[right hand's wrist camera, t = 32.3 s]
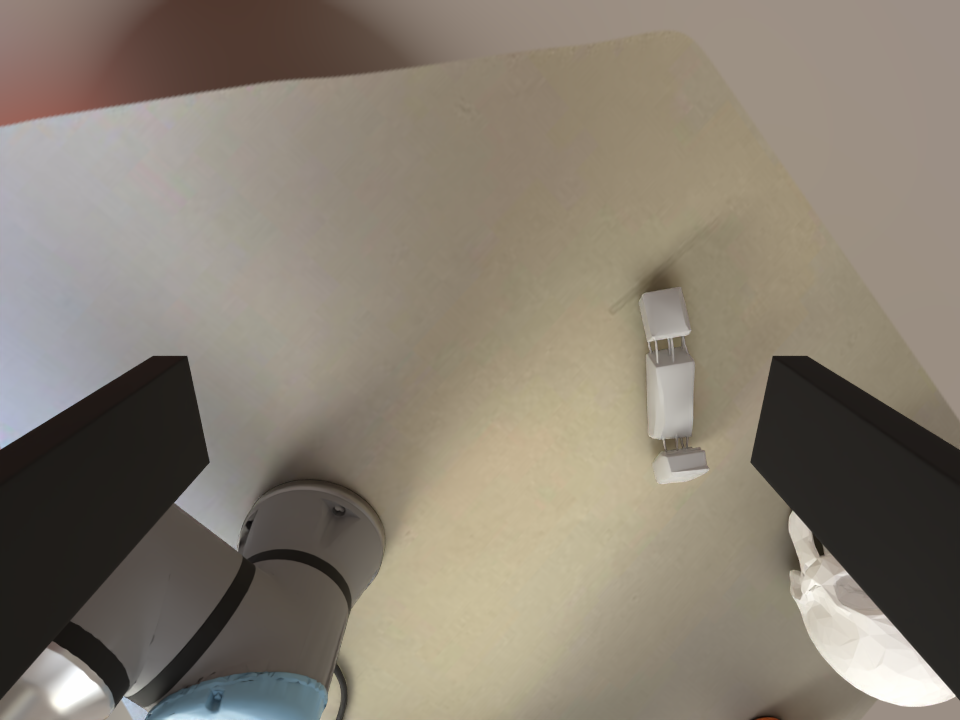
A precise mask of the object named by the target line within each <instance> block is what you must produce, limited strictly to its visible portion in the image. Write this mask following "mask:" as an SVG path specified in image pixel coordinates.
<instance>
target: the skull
mask: <svg viewBox="0 0 960 720" xmlns="http://www.w3.org/2000/svg"><path fill="white" fill-rule="evenodd" d="M788 528H789V533H790V536H791V538H792V541H793V544H794V546H795V549H796V553H797V556H798V558H799V562H800V567H801V571H797V570H791V571H790V574H789V576H790V580H791V587H790V593H791V595H792V597H793V598H794V599H795V601H796V603H797V605H798V607H799V609H800V611H801V614H802V618H803V621H804V624H805V627H806V629H807V631H808V634H809V636H810V638H811V640H812V641H813V643H814V645H815V646H816V648H817V649H818V651H819V652H820V654H821V655H822V656H823V658H824V659H825V660H826V661H827V662H828V663H829V664H830V665H831V666H832V668H833V669H834V670H835V671H836V672H837V673H838V674H839V675H840V676H842V677H843V678H844V679H845V680H846V681H848V682H849V683H850V684H852V685H853V686H854V687H856V688H857V689H859V690H861V691H863V692H864V693H866V694H868V695H870V696H872V697H875V698H877V699H880V700H882V701H886V702H889V703H893V704H896V705H900V706H909V707H923V706H928V705H933V704H938V703H941V702H944V701H947V700H949V699H951V698H953V697H955V694H954V693H953V692H952V691H951V690H950V689H949V688H948V686H947V685H946V684H945V683H944V682H943V681H942V680H941V678H940V677H939V676H938V675H937V674H936V673H935V672H934V670H933V669H932V668H931V667H930V666H929V665H928V664H927V663H926V661H925V660H924V659H923V658H922V657H921V656H920V655H919V653H918V652H917V651H916V650H915V649H914V648H913V647H912V645H911V644H910V643H909V642H908V641H907V640H906V639H905V638H904V636H903V635H902V634H901V633H900V632H899V631H898V630H897V628H896V627H895V626H894V625H893V624H892V623H891V622H890V620H889V619H888V618H887V617H886V616H885V615H884V614H883V613H882V611H881V610H880V609H879V608H878V607H877V606H876V605H875V603H874V602H873V601H872V600H871V599H870V598H869V597H868V595H867V594H866V593H865V592H864V591H863V590H862V589H861V587H860V586H859V585H858V584H857V583H856V582H855V581H854V580H853V578H852V577H851V576H850V575H849V574H848V573H847V572H846V570H845V569H844V568H843V567H842V566H841V565H840V564H839V562H838V561H837V560H836V559H835V558H834V557H833V556H832V555H831V553H830V552H829V551H828V550H827V549H826V548H825V547H824V545H823V544H822V545H823V549H824V555H825V556H823V555H821V556H820V555H819V553H818V551H817V549H816V547H815V544H814V539H813V533H812V532H811V531H810V530H809V528H808V527H807V526H806V525H805V524H804V523H803V522H802V520H801V519H800V518H799V517H798V516H797V515H796V514H795V512H794V511H792V512H791V514H790V516H789V522H788Z"/></svg>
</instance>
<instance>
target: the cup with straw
mask: <svg viewBox="0 0 960 720" xmlns="http://www.w3.org/2000/svg"><path fill="white" fill-rule="evenodd" d="M756 720H779V719H776V718H771V717H764V718H759V719H756Z"/></svg>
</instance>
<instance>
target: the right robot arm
mask: <svg viewBox="0 0 960 720" xmlns="http://www.w3.org/2000/svg"><path fill="white" fill-rule="evenodd" d="M208 464H209V457H208V452H207V448H206V443H205V438H204V433H203V429H202V424H201V419H200V414H199V410H198V405H197V400H196V395H195V391H194V386H193V381H192V376H191V372H190V367H189V362H188V357H187V356H152V357H151V358H149V359H147V360H146V361H144V362H142V363H141V364H139V365H138V366H136V367H134V368H133V369H131V370H129V371H128V372H126V373H125V374H123V375H121V376H120V377H118V378H116V379H115V380H113V381H112V382H110V383H108V384H107V385H105V386H103V387H102V388H100V389H99V390H97V391H95V392H94V393H92V394H90V395H89V396H87V397H86V398H84V399H82V400H81V401H79V402H77V403H76V404H74V405H73V406H71V407H69V408H68V409H66V410H64V411H63V412H61V413H60V414H58V415H56V416H55V417H53V418H51V419H50V420H48V421H47V422H45V423H43V424H42V425H40V426H38V427H37V428H35V429H33V430H32V431H30V432H29V433H27V434H25V435H24V436H22V437H20V438H19V439H17V440H16V441H14V442H12V443H11V444H9V445H7V446H6V447H4V448H3V449H1V450H0V720H105V719H106V718H107V717H108V716H109V715H110V714H111V712H112V711H113V710H114V708H115V707H116V705H117V704H118V703H119V701H120V700H121V699H122V697H123V696H124V697H126V698H128V699H129V700H131V701H133V702H134V703H136V704H137V705H139V706H141V707H142V708H143V709H145V710H146V711H148V712H149V713H148V715H147V717H146V718H145V720H320V717H321V715H322V712H323V711H324V709H325V707H326V704H327V701H328V691H329V687H330V683H331V680H332V676H333V672H334V673H335V675H336V677H337V679H338V681H339V684H340V688H341V704H340V708H339V712H338V715H337V718H336V720H342V719H343V715H344V712H345V709H346V704H347V686H346V682H345V678H344V676H343V674H342V672H341V670H340V668H339V666H338V665H337V663H336V661H337V658H338V654H339V651H340V647H341V643H342V640H343V636H344V632H345V629H346V625H347V621H348V617H349V614H350V611H351V608H352V607H353V606H354V604H355V603H356V601H357V600H358V599H359V597H360V596H361V594H362V593H363V591H364V590H366V589H367V587H368V586H369V585H370V584H371V582H372V581H373V580H374V578H375V577H376V575H377V574H378V572H379V569H380V566H381V563H382V559H383V555H384V550H385V534H384V529H383V526H382V524H381V521H380V519H379V517H378V516H377V514H376V513H375V511H374V510H373V509H372V508H371V506H370V505H369V504H368V503H367V502H366V501H365V500H363V499H362V498H361V497H360V496H358V495H357V494H355V493H354V492H352V491H350V490H348V489H346V488H344V487H342V486H339V485H337V484H333V483H330V482H325V481H319V480H298V481H292V482H287V483H284V484H281V485H279V486H277V487H274V488H273V489H271V490H269V491H268V492H266V493H265V494H264V495H263V496H262V497H260V498H259V500H258V501H257V502H256V503H255V505H254V506H253V508H252V509H251V511H250V512H249V514H248V515H247V517H246V519H245V521H244V523H243V526H242V529H241V533H240V537H239V541H238V545H239V548H238V545H237V549H238V552H237V550H235V549H234V548H232V547H231V546H230V545H228V544H227V543H226V542H224V541H223V540H222V539H220V538H219V537H218V536H217V535H215V534H214V533H213V532H211V531H210V530H209V529H207V528H206V527H205V526H203V525H202V524H201V523H199V522H198V521H197V520H196V519H194V518H193V517H192V516H190V515H189V514H188V513H186V512H185V511H184V510H182V509H181V508H180V507H179V506H177V505H176V504H175V503H174V502H175V501H176V500H177V499H178V498H179V497H180V495H181V494H182V493H183V492H184V491H185V490H186V489H187V487H188V486H189V485H190V484H191V483H192V482H193V481H194V479H195V478H196V477H197V476H198V475H199V474H200V473H201V472H202V470H203V469H204V468H205V467H206V466H207V465H208ZM751 464H752V465H753V466H754V467H755V468H756V469H757V470H758V472H759V473H760V474H761V475H762V476H763V477H764V478H765V479H766V481H767V482H768V483H769V484H770V485H771V486H772V487H773V489H774V490H775V491H776V492H777V493H778V494H779V495H780V497H781V498H782V499H783V500H784V501H785V502H786V503H787V504H788V506H789V507H790V508H791V509H792V510H793V511H794V512H795V514H796V515H797V516H798V517H799V518H800V519H801V520H802V522H803V523H804V524H805V525H806V526H807V527H808V528H809V530H810V531H811V532H812V533H813V534H814V535H815V536H816V537H817V539H818V540H819V541H820V542H821V543H822V544H823V545H824V547H825V548H826V549H827V550H828V551H829V552H830V553H831V555H832V556H833V557H834V558H835V559H836V560H837V561H838V562H839V564H840V565H841V566H842V567H843V568H844V569H845V570H846V572H847V573H848V574H849V575H850V576H851V577H852V578H853V580H854V581H855V582H856V583H857V584H858V585H859V586H860V587H861V589H862V590H863V591H864V592H865V593H866V594H867V595H868V597H869V598H870V599H871V600H872V601H873V602H874V603H875V605H876V606H877V607H878V608H879V609H880V610H881V611H882V613H883V614H884V615H885V616H886V617H887V618H888V619H889V620H890V622H891V623H892V624H893V625H894V626H895V627H896V628H897V630H898V631H899V632H900V633H901V634H902V635H903V636H904V638H905V639H906V640H907V641H908V642H909V643H910V644H911V645H912V647H913V648H914V649H915V650H916V651H917V652H918V653H919V655H920V656H921V657H922V658H923V659H924V660H925V661H926V663H927V664H928V665H929V666H930V667H931V668H932V669H933V670H934V672H935V673H936V674H937V675H938V676H939V677H940V678H941V680H942V681H943V682H944V683H945V684H946V685H947V686H948V688H949V689H950V690H951V691H952V692H953V693H954V694H955V696H956V697H957V698H958V699H959V700H960V450H959V449H957V448H956V447H954V446H953V445H951V444H949V443H948V442H946V441H944V440H943V439H941V438H940V437H938V436H936V435H935V434H933V433H931V432H930V431H928V430H927V429H925V428H923V427H922V426H920V425H918V424H917V423H915V422H913V421H912V420H910V419H909V418H907V417H905V416H904V415H902V414H900V413H899V412H897V411H896V410H894V409H892V408H891V407H889V406H887V405H886V404H884V403H883V402H881V401H879V400H878V399H876V398H874V397H873V396H871V395H870V394H868V393H866V392H865V391H863V390H861V389H860V388H858V387H857V386H855V385H853V384H852V383H850V382H848V381H847V380H845V379H844V378H842V377H840V376H839V375H837V374H835V373H834V372H832V371H831V370H829V369H827V368H826V367H824V366H822V365H821V364H819V363H818V362H816V361H814V360H813V359H811V358H809V357H808V356H773V357H772V362H771V367H770V372H769V376H768V381H767V386H766V391H765V395H764V400H763V405H762V410H761V414H760V419H759V424H758V429H757V433H756V438H755V443H754V448H753V452H752V457H751Z"/></svg>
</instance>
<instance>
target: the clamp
mask: <svg viewBox="0 0 960 720" xmlns="http://www.w3.org/2000/svg"><path fill="white" fill-rule="evenodd" d="M639 307H640V311H641V316H642V320H643V325H644V330H645V334H646V339H647V342H648V347H649V351H650V352H648V353H647V354H646V376H647V415H648V435H649V436H650V437H651V438H653V439H659V440H661V439H663V445H664V449H665V451H662V452H660V453H659V454H658V456H657V457H656V458H655V459H654V461H653V463H652V466H653V470H654V474H655V478H656V481H657V482H658V483H659V484H665V483H675V482H684V481H690V480H692V479H694V478H696V477H698V476H701V475H703V474H705V473H707V471H708V470H709V467H708V466H707V463H706V455H705V451H704V450H701V448H700V447H698V448H692V447H688V437H692V426H693V395H694V374H695V362H694V359H693V358H692V357H691V355H690V354H689V352H688V350H687V347H686V344H685V337H684V336H685V335H688V334H689V333H690V332H691V327H690V321H689V316H688V312H687V308H686V303H685V300H684V296H683V293H682V289H681V287H674V288H668V289H663V290H657V291H651V292H645V293H644V294H642V296H641V298H640V300H639ZM679 336H681V338H682V346H681V347H675V348H674V346H673V337H679ZM667 338H668V346H669V349H663V350H658V346H657V340H661V339H667ZM670 340H671V344H670ZM651 341H655V348H656V351H652V350H651V346H650V342H651ZM684 347H685V348H684ZM682 437H686V448H684V445H683V440H682ZM671 438H676V449H674V450H668V451H667V449H666V444H665V439H671ZM678 438H680V440H681V445H682V448H681V449H678Z"/></svg>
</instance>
